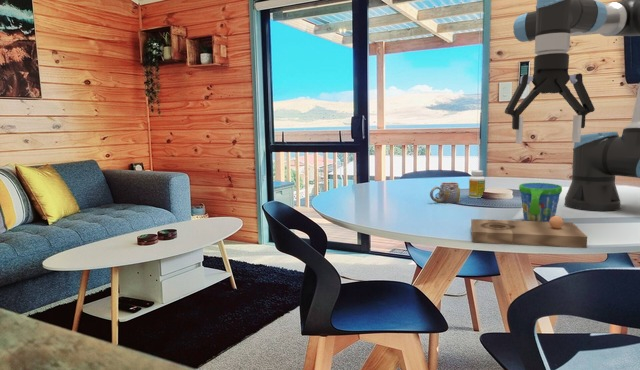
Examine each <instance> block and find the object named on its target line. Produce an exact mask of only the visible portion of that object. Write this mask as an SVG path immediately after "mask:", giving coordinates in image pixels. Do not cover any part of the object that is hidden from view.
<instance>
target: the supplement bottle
mask: <svg viewBox="0 0 640 370" xmlns="http://www.w3.org/2000/svg"><path fill="white" fill-rule="evenodd" d="M470 172H471V174H470V175H471V176H470V177H469V178H468V179H469V181H468V182H469V183H468V185H469V187H468V190H469V191H468V197H469V198H471V199H477V198H481V197H482V195H483V192H484V191H486V178H485V176H483V175H484V170H477V169H476V170H471V171H470ZM481 199H482V198H481Z"/></svg>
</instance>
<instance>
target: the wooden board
mask: <svg viewBox="0 0 640 370" xmlns="http://www.w3.org/2000/svg"><path fill="white" fill-rule="evenodd" d="M470 223H471V225H470V226H471V227H470V229H471V231H472V232H471V238H472V243H482V244H484V243H485V244H504V245H505V244H506V245H519V246H520V245H524V246H525V245H526V246H542V247H543V246H544V247H561V248H585V249H587V247H588V236H587V235H586V234H585V233H584V232H583V231H582V230H581V229H580V228H579V227H578V226H577V225H576V224H575V223H574V222H571V221H570V222H566V221H563V226H562V227H560V228H557V229H556V228H553V227H551V226H550V224H549V222H542V221H525V220H510V219H509V220H508V219H507V220H506V219H504V220H503V219H485V218H484V219H483V218H482V219H481V218H471V222H470Z"/></svg>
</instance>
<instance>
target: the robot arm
mask: <svg viewBox="0 0 640 370" xmlns="http://www.w3.org/2000/svg"><path fill="white" fill-rule="evenodd" d="M535 9H536V10H534V11H530V12H529V11H527V12H526V13H523V14H521V15H518V16H517V17H516V18H515V21H514V22H513V36H514V37H515V39H516V40H517V41H519V42H520V43H526V42H533V41H534V55H535V56H534V58H533V74H532V76H531V75H528V74H523V75H521V76H519V80H518V85H517V87H516V89H515V91H514V93H513V94H512V97H511V98H510V100H509V102H508V104H507V106H506V108H505V109H504V113H505V114H506V115H510V116H511V118H512V119H511V120H512V121H511V128H512V130H515V143H516V144H523V136H524V135H523V133H524V130H523V129H524V116H521V115H522V114H523V112H525V110H526V109H527V107H529V105H530V104H531V103H532V102H533V101H534V100H535V99H536V98H537V97H538V96H540V94H543V95H545V94H551V95H552V94H559V95H560V96H562V98H563V99H564V100H565V102H567V104H568V105H569V106H570V107H571V108H572V109H573V110H574V112H575V113H576V114H574V115H572V116H573V117H572V119H573V120H572V134H571V135H572V136H571V142H572V143H573V148H572V151H573V152H572V153H573V154H572V173H571V174H572V175H571V183H570V186H569V188H568V190H567V192H566V194H565V197H564V205H565V206H566V207H568V208H571V209H572V208H573V209H577V210H584V211H597V212H598V211H601V212H602V211H603V212H604V211H605V212H606V211H607V212H608V211H616V210H619V209H621V198H620V194H619V192H618V189H617V186H616V177H617V176H618V177H627V178H636V179H638V178H639V179H640V83H639V84H638V90H637V94H636V99H635V102H634V108H633V111H632V112H633V113H632V116H631V121H630V123H629V124H628V125H626V126H625V127H624V128H623V130H622V133H621V136H620V135H619V132H618V131H606V132H605V131H603V132H592V133H587V134H586V133H585V134H584V133H583V134H581V133H582V129H584V128H586V116H587V115H588V114H590V113H594V111H595V106H594V103H593V102H592V100H591V98H590V95H589V93H588V91H587V88H586V87H585V85H584V82H583V74H582V73H580V72H579V73H575V74H571V75H569V67H570V66H569V63H570V55H569V54H568V52H569V51H570V49H571V48H570V47H571V46H570V45H571V44H570V43H571V37H577V36H589V35H590V36H591V35H601V36H604V37H636V36H637V37H639V36H640V0H620V1H615V2H614V1H613V2H609V3H606V4H604V3H603V2H601V1H598V0H536V5H535ZM568 82H570V83H571V84H572V85H573V88H574V90H575V91H574V92H575V93H576V95H577V96H578V99H579V100H578V99H577V98H576V97H575V95H574V94H573V93H572V92H571V90H570V88H569V87H568V86H567V84H568ZM530 83H532V85H534V87H533V88H532V89H531V91H530V92H529V93H528V94H527V95H526V97H525V98H524V99H523V100H522V101H521V102H520V103H519V101H520V99H521V97H522V96H523V94H524V92H525V90H526V88H527V86H528V85H530ZM518 103H519V104H518ZM517 105H518V106H517ZM515 143H514V144H515Z"/></svg>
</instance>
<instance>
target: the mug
mask: <svg viewBox="0 0 640 370" xmlns="http://www.w3.org/2000/svg"><path fill="white" fill-rule="evenodd" d="M435 190H439V191H438V198H435V197H434V191H435ZM429 197H430V199H431V200H432V201H433V202H435V203H438V204H439V203H440V204H441V203H442V204H456V203H461V200H460V198H461V188H460V187H459V183H458V182H441V183H440V186H434V187H433V188H432V189H431V190H430V193H429Z"/></svg>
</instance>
